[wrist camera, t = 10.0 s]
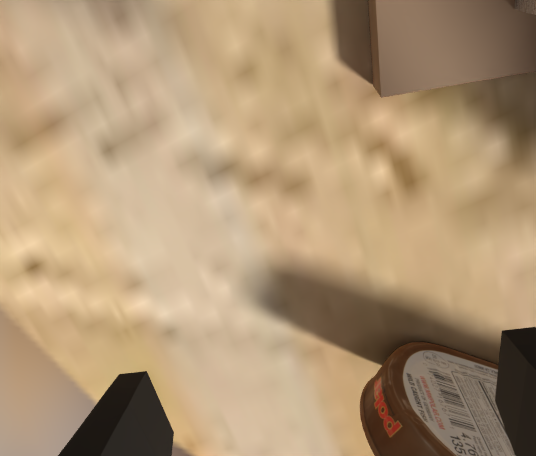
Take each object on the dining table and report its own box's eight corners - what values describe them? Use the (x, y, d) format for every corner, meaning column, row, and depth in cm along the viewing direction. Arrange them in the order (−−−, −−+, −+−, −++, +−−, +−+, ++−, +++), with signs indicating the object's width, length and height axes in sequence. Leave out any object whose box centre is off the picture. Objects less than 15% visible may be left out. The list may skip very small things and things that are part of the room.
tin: (345, 354, 24) (375, 532, 17) (376, 310, 22) (423, 485, 15) (584, 430, 27) (697, 611, 20) (625, 396, 25) (765, 578, 18)
